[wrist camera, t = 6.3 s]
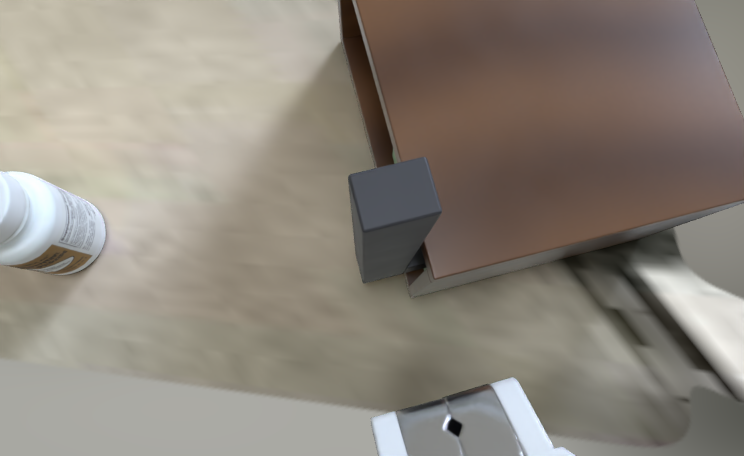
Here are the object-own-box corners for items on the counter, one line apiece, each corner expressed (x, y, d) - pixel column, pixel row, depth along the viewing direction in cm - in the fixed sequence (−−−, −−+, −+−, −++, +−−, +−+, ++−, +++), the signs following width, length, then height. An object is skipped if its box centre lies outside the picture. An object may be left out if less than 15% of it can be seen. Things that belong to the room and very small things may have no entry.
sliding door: (434, 275, 28) (520, 204, 13) (364, 293, 28) (365, 243, 13) (400, 152, 29) (440, -46, 14) (332, 169, 29) (298, -15, 14)
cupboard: (641, 238, 30) (775, 192, 20) (410, 298, 29) (433, 280, 19) (552, -9, 33) (632, -153, 23) (340, 39, 32) (330, -90, 22)
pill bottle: (23, 276, 29) (-96, 256, 22) (32, 198, 30) (-79, 152, 22) (104, 275, 29) (14, 255, 22) (111, 198, 30) (26, 152, 22)
